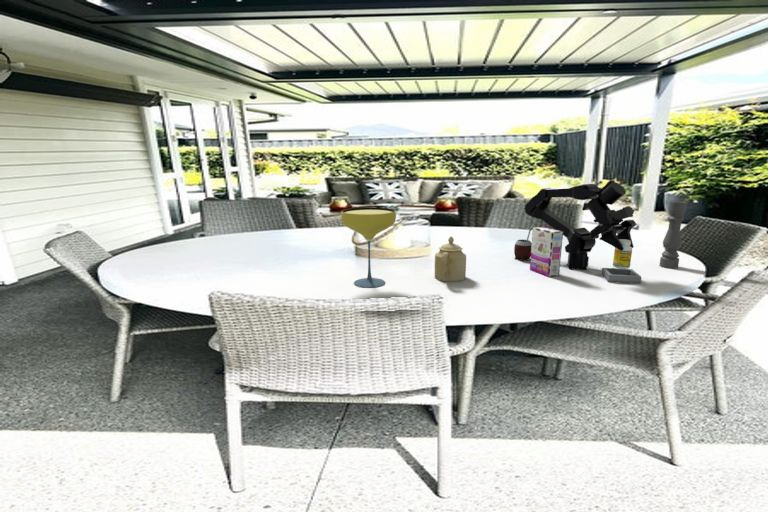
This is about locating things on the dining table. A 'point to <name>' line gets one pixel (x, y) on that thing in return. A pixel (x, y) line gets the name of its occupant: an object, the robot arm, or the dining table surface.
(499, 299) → the dining table surface
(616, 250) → the supplement bottle
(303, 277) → the dining table surface
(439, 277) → the sugar bowl
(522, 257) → the mate gourd
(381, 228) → the cocktail glass
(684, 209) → the candle holder
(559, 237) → the candy bar box
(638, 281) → the tray
